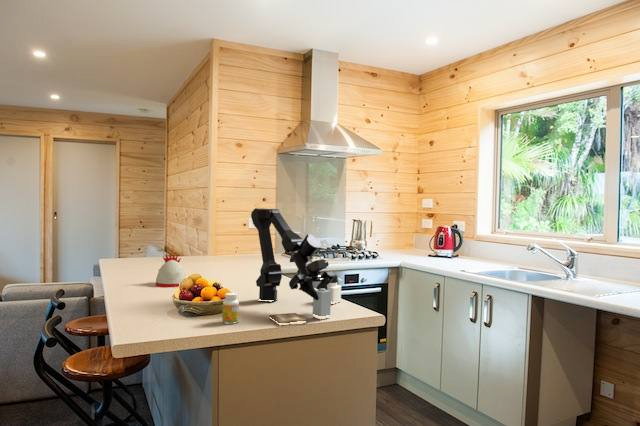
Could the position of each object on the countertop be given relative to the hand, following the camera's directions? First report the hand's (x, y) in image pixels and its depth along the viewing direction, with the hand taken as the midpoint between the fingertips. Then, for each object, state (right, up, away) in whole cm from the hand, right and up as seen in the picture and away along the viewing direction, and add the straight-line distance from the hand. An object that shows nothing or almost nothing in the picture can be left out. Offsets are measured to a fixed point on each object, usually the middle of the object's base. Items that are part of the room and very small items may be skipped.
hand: (322, 298), depth 168 cm
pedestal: (-12, -7, -6) cm, 15 cm away
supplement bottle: (-31, -6, -11) cm, 34 cm away
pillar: (0, -7, 0) cm, 7 cm away
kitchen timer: (-72, -3, +53) cm, 89 cm away
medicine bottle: (+3, -7, +28) cm, 29 cm away
